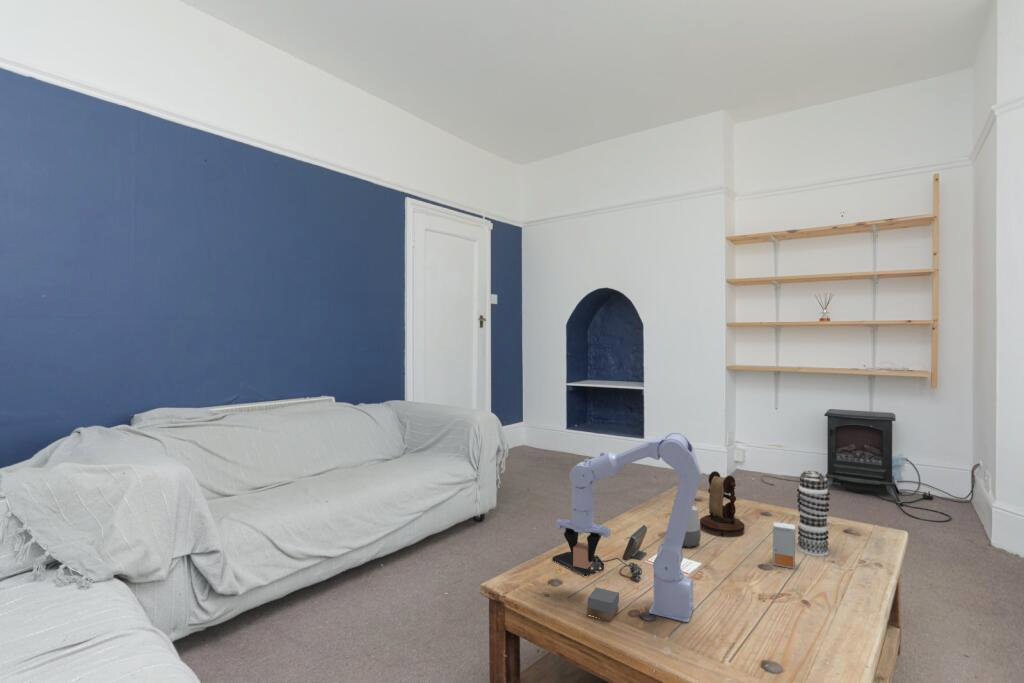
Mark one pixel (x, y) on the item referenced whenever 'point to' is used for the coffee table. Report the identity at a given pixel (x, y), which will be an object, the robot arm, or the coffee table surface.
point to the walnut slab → (602, 614)
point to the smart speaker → (692, 530)
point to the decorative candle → (813, 513)
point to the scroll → (721, 506)
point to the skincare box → (784, 545)
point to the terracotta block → (581, 555)
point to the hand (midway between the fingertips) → (582, 558)
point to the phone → (571, 563)
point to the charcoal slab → (603, 600)
